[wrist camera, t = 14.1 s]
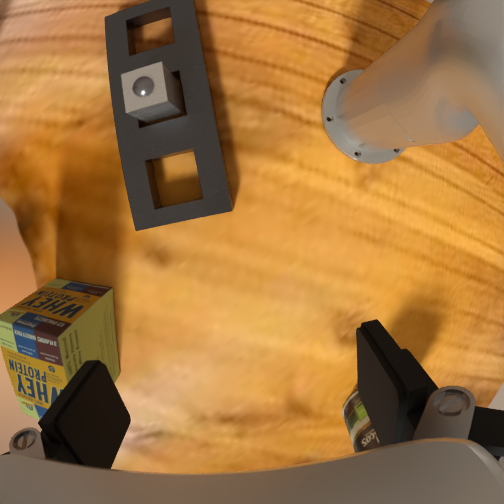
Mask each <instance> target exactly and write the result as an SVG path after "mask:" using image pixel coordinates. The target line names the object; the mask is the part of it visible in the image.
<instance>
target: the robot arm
mask: <svg viewBox="0 0 504 504" xmlns="http://www.w3.org/2000/svg"><path fill="white" fill-rule="evenodd" d="M340 81H342V82H343V84H342V83H340ZM321 115H322V122H323V125H324V128H325V131H326V133H327V135H328V137H329V138H330V140H331V141H332V143H333V144H334V145H335V146H336V148H338V149H339V150H340V151H341V152H342V153H343V154H345V155H346V156H348V157H349V158H351V159H353V160H356V161H358V162H362V163H367V164H378V163H385V162H387V161H390V160H392V159H394V158H396V157H397V156H399V155H400V154H401V153H402V152H403V151H404V150H405V148H407V147H416V146H424V145H434V144H442V143H450V142H454V141H458V140H460V139H462V138H464V137H466V136H468V135H469V134H470V133H471V132H472V131H473V130H474V129H475V128H476V127H477V126H478V124H480V126H481V127H482V129H483V130H484V132H485V134H486V135H487V137H488V139H489V140H490V142H491V143H492V144H493V146H494V147H495V149H496V151H497V153H498V155H499V157H500V158H501V160H502V162H503V164H504V0H434V1H433V3H432V4H431V6H430V7H429V8H428V10H427V11H426V13H425V14H424V15H423V17H422V18H421V19H420V21H419V22H418V23H417V24H416V25H415V26H414V27H413V28H412V29H411V30H410V31H409V32H408V33H407V34H406V35H405V36H404V37H403V38H402V39H400V40H399V41H398V42H397V43H396V44H395V45H393V46H392V47H391V48H390V49H389V50H387V51H386V52H385V53H384V54H383V55H381V56H380V57H379V58H378V59H377V60H375V61H374V62H373V63H372V64H371V65H370V66H368V67H367V68H366V69H358V70H351V71H348V72H346V73H343V74H342V75H340V76H338V77H337V78H336V79H335V80H334V81H333V82H332V83H331V84H330V85H329V87H328V88H327V90H326V92H325V94H324V96H323V100H322V105H321ZM327 118H330V121H327ZM394 149H395V152H394ZM355 152H357V156H355ZM356 337H357V370H358V393H359V396H360V399H361V401H362V403H363V405H364V408H365V410H366V412H367V414H368V417H369V419H370V421H371V424H372V426H373V428H374V431H375V433H376V435H377V438H378V440H379V442H380V445H381V447H379V448H375V449H371V450H367V451H362V452H358V453H353V454H349V455H344V456H340V457H335V458H330V459H325V460H320V461H314V462H308V463H302V464H296V465H290V466H283V467H275V468H267V469H258V470H247V471H234V472H216V473H157V472H139V471H126V470H116V469H111V467H112V464H113V462H114V460H115V457H116V455H117V452H118V450H119V448H120V445H121V443H122V441H123V438H124V436H125V434H126V432H127V429H128V427H129V425H130V421H131V419H130V415H129V413H128V411H127V409H126V407H125V405H124V403H123V401H122V399H121V397H120V395H119V393H118V390H117V388H116V386H115V384H114V382H113V380H112V378H111V375H110V373H109V371H108V369H107V366H106V365H105V364H104V363H102V362H101V361H100V360H87V361H85V362H84V363H83V365H82V366H81V367H80V368H79V370H78V371H77V372H76V373H75V375H74V376H73V377H72V379H71V380H70V381H69V382H68V384H67V385H66V386H65V388H64V389H63V390H62V391H61V393H60V394H59V395H58V397H57V398H56V399H55V401H54V402H53V403H52V405H51V406H50V407H49V409H48V410H47V411H46V413H45V414H44V415H43V417H42V418H41V419H40V421H39V422H38V424H39V425H40V427H41V429H42V431H41V433H40V432H39V431H38V430H37V429H35V428H25V429H22V430H20V431H18V432H17V433H16V434H14V436H13V437H12V438H11V440H10V444H9V448H10V451H9V452H7V453H5V454H2V455H0V504H504V411H502V410H496V409H490V408H483V407H477V406H475V398H474V396H473V394H472V393H471V392H470V391H469V390H467V389H465V388H463V387H459V386H446V387H442V388H440V389H439V388H438V387H437V386H436V384H435V383H434V382H433V381H432V379H431V378H430V377H429V375H428V374H427V373H426V372H425V370H424V369H423V368H422V366H421V365H420V364H419V363H418V361H417V360H416V359H415V358H414V356H413V355H412V354H411V353H410V351H409V350H407V349H400V347H399V346H398V345H397V343H396V342H395V341H394V340H393V338H392V337H391V336H390V334H389V333H388V332H387V331H386V329H385V328H384V327H383V326H382V324H381V323H380V322H379V321H378V320H377V319H376V320H372V321H368V322H363V323H362V324H361V327H360V328H357V330H356Z"/></svg>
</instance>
